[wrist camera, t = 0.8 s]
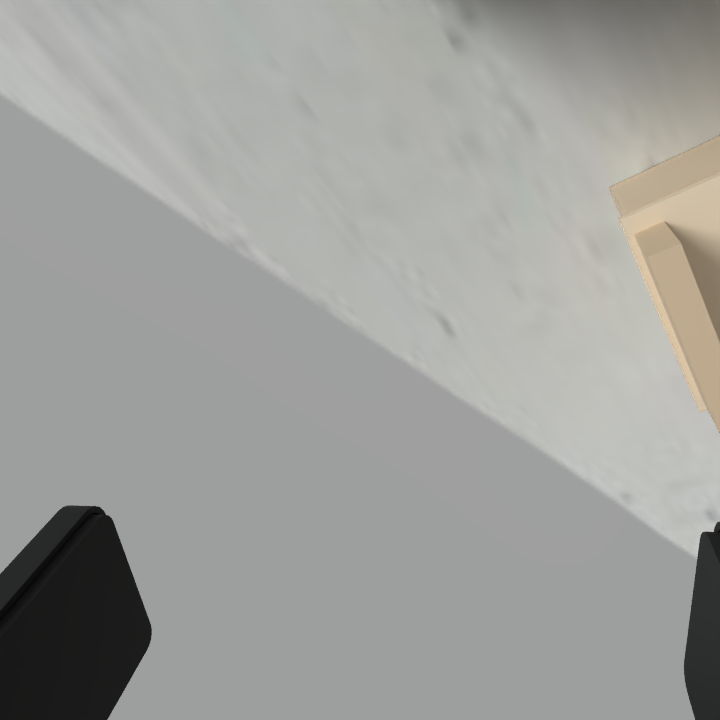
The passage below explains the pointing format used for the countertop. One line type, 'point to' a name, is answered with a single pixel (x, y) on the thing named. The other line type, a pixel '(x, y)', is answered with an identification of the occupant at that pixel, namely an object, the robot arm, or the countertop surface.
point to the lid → (685, 279)
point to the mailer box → (667, 177)
